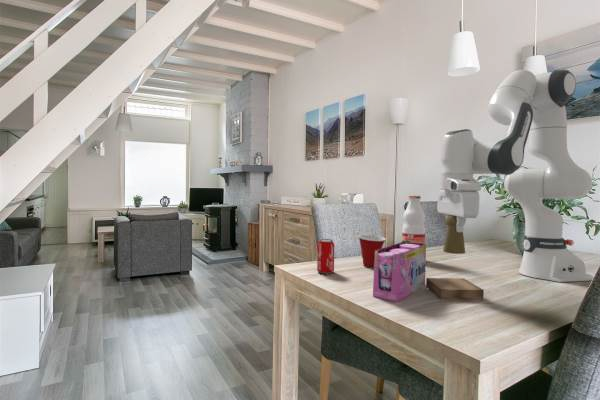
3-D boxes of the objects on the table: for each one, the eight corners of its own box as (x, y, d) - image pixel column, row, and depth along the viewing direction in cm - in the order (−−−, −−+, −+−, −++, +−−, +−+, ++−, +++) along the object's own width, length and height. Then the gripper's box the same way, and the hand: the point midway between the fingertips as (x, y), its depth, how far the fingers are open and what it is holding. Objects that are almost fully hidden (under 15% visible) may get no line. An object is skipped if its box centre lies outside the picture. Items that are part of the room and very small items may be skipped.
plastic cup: (382, 270, 131) (382, 239, 131) (354, 267, 136) (354, 237, 135) (387, 264, 141) (388, 235, 141) (361, 262, 146) (362, 233, 145)
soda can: (331, 275, 124) (332, 242, 123) (314, 273, 126) (315, 241, 125) (335, 271, 130) (336, 239, 129) (319, 269, 132) (320, 238, 131)
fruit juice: (427, 260, 150) (429, 195, 148) (419, 264, 143) (421, 196, 141) (406, 257, 156) (408, 195, 155) (398, 260, 149) (399, 195, 147)
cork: (470, 253, 102) (471, 215, 101) (452, 254, 100) (453, 216, 99) (455, 249, 107) (456, 214, 107) (438, 250, 106) (439, 214, 105)
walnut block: (463, 287, 110) (464, 278, 110) (483, 300, 98) (483, 289, 98) (426, 287, 110) (426, 277, 110) (440, 299, 98) (441, 289, 98)
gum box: (396, 303, 95) (397, 254, 94) (370, 297, 100) (370, 251, 99) (425, 284, 114) (426, 243, 113) (402, 280, 118) (403, 241, 118)
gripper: (432, 184, 113) (431, 226, 114) (460, 184, 93) (459, 235, 93) (452, 184, 113) (450, 226, 114) (484, 184, 93) (482, 235, 93)
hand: (454, 230), depth 103 cm, fingers closed on cork, 4 cm apart
